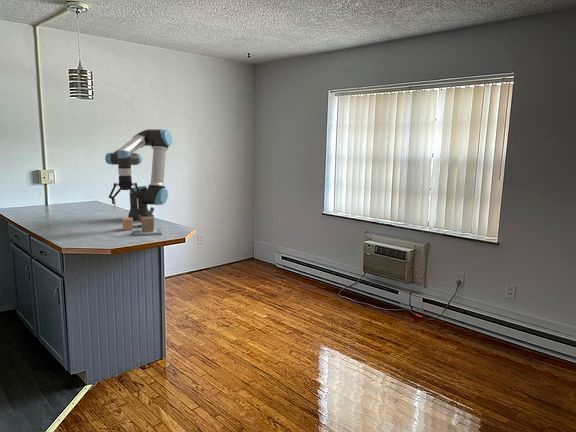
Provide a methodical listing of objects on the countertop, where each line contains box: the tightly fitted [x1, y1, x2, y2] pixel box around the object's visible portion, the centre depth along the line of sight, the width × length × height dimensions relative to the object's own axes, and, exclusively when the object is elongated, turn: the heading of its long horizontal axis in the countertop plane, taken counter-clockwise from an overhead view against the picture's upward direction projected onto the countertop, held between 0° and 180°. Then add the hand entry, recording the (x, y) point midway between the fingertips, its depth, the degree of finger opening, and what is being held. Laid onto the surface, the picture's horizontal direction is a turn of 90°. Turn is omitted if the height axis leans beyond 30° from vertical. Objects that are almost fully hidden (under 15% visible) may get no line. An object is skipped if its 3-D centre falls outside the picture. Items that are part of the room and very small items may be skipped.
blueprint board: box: [133, 227, 163, 237], centre depth 272 cm, size 16×16×1 cm
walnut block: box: [140, 217, 155, 232], centre depth 272 cm, size 7×7×8 cm
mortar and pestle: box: [138, 206, 155, 224], centre depth 294 cm, size 11×9×12 cm
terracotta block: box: [121, 217, 134, 232], centre depth 281 cm, size 6×6×7 cm
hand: (126, 209), depth 279 cm, fingers open, 13 cm apart
